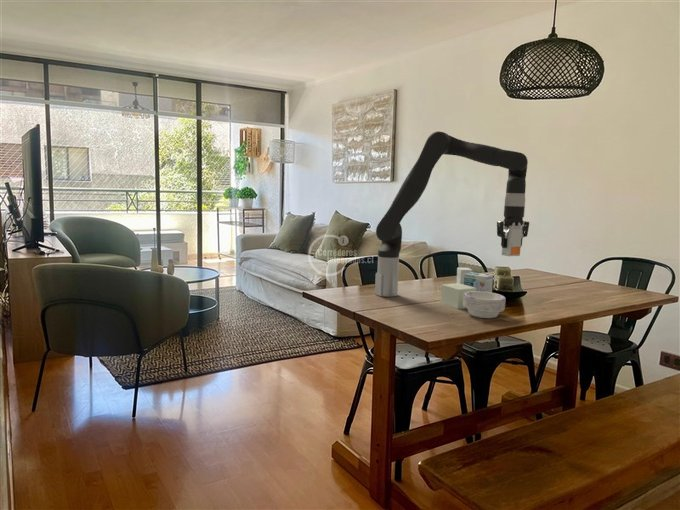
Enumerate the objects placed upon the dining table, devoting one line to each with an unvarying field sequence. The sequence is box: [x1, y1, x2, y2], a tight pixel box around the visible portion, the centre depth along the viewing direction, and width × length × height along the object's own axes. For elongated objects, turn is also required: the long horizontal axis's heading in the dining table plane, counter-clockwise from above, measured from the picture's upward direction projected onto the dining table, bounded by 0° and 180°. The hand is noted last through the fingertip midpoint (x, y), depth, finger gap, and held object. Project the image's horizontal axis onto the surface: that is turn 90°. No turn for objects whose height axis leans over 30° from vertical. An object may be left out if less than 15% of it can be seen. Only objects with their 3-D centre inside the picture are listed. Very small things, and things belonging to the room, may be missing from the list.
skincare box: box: [501, 225, 522, 257], centre depth 193 cm, size 6×4×12 cm
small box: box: [456, 267, 474, 284], centre depth 231 cm, size 8×6×10 cm
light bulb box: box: [464, 271, 494, 293], centre depth 215 cm, size 11×7×11 cm, turn 47°
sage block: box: [440, 282, 476, 310], centre depth 201 cm, size 9×11×8 cm
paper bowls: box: [463, 291, 507, 319], centre depth 185 cm, size 15×15×8 cm
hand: (511, 247), depth 194 cm, fingers closed on skincare box, 6 cm apart
